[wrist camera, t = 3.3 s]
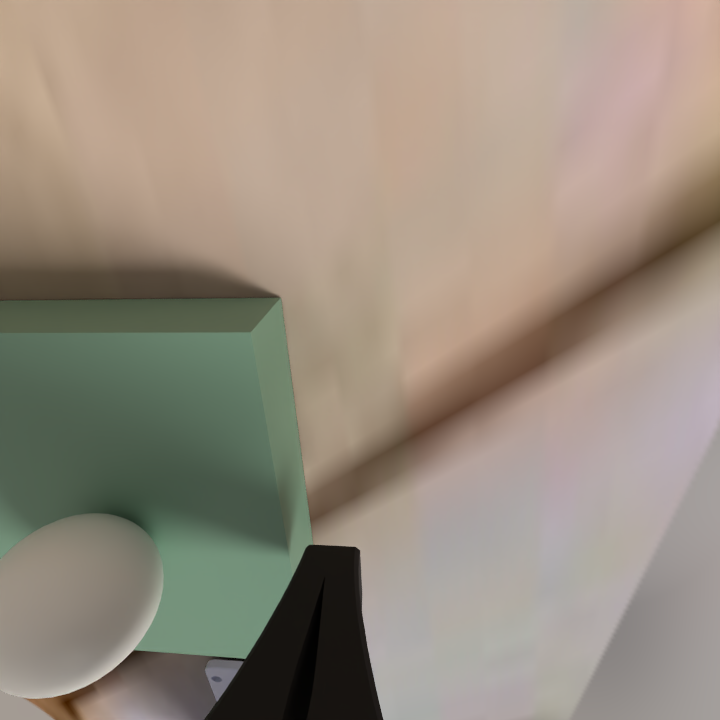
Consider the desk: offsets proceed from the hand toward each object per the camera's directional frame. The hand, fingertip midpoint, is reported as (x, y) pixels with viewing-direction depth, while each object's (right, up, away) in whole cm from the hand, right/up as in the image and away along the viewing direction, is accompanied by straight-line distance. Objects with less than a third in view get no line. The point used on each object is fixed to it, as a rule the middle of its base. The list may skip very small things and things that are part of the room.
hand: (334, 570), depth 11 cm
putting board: (-12, +2, +4) cm, 13 cm away
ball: (-7, 0, 0) cm, 7 cm away
